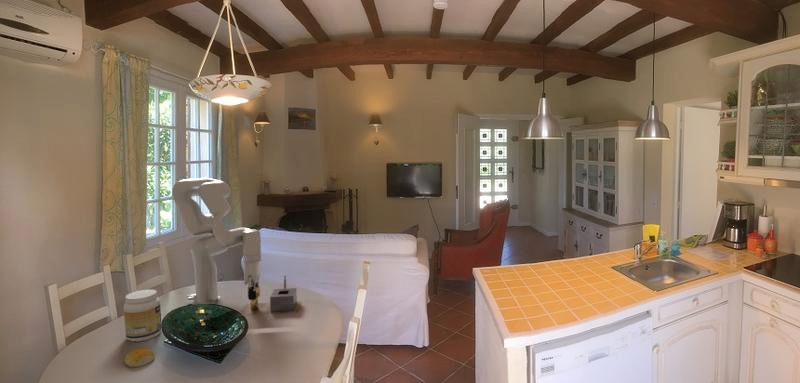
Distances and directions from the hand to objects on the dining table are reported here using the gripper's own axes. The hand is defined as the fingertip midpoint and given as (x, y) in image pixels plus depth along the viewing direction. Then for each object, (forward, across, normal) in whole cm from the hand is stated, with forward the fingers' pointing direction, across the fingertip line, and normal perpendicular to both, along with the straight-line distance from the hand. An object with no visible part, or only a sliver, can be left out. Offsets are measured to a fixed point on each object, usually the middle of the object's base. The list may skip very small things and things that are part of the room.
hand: (253, 296), depth 177 cm
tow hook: (+8, -14, +13) cm, 21 cm away
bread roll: (+8, +38, -30) cm, 49 cm away
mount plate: (+7, 0, +8) cm, 10 cm away
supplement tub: (+8, +18, -38) cm, 43 cm away
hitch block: (+6, 0, +13) cm, 14 cm away
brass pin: (+6, 0, 0) cm, 6 cm away
